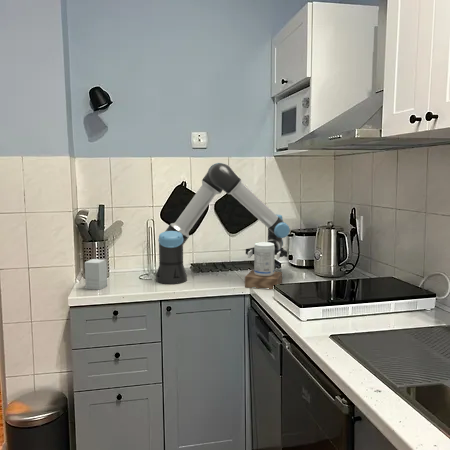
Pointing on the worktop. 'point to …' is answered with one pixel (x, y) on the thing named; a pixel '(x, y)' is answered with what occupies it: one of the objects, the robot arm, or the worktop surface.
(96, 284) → the supplement box
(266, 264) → the supplement tub
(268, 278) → the walnut block
